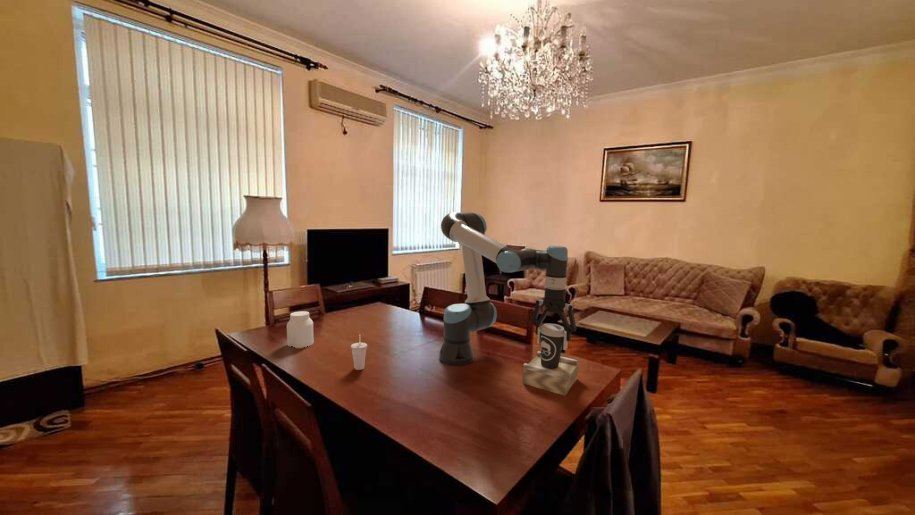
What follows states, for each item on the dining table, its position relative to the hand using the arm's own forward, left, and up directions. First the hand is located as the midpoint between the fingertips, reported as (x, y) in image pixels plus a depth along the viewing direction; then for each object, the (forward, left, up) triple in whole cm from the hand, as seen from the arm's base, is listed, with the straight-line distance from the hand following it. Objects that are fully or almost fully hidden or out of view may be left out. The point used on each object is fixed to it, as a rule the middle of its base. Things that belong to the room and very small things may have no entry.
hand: (552, 345), depth 131 cm
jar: (-111, -32, -14) cm, 116 cm away
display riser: (0, 0, -14) cm, 14 cm away
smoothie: (-68, -34, -14) cm, 77 cm away
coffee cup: (-1, 0, -8) cm, 8 cm away
